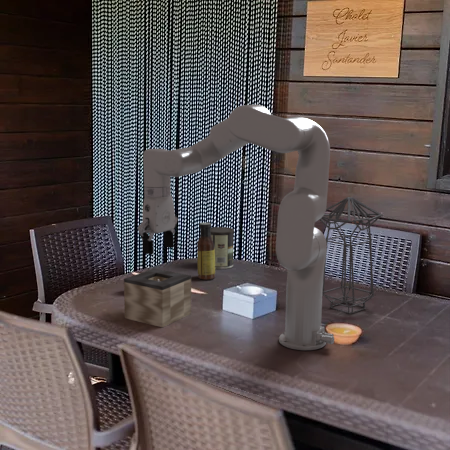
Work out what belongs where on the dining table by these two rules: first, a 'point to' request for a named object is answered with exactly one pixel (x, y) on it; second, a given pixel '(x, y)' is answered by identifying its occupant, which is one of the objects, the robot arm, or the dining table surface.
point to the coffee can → (223, 246)
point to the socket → (157, 297)
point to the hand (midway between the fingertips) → (159, 250)
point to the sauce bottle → (205, 253)
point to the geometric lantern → (340, 209)
